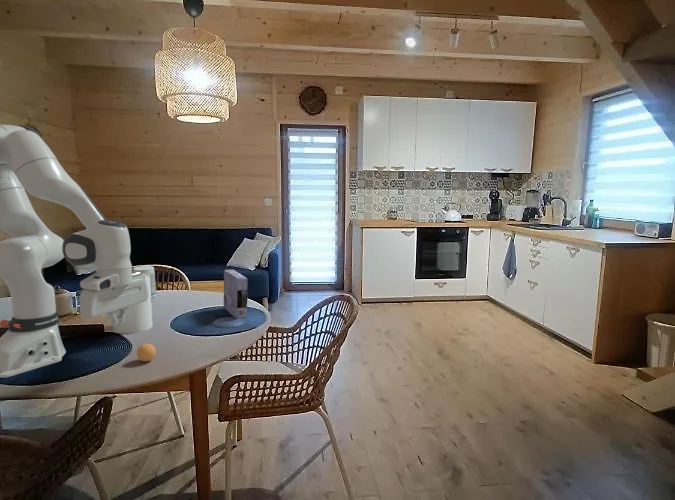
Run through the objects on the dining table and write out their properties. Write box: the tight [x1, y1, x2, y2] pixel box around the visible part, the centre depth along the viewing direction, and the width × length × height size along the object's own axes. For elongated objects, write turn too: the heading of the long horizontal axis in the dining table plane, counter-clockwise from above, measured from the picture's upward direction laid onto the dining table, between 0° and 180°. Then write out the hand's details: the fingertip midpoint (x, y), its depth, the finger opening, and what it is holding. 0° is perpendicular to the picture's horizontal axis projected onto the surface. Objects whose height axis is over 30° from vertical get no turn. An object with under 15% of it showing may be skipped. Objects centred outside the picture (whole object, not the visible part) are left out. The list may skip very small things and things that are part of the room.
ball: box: [136, 343, 157, 363], centre depth 134 cm, size 6×6×6 cm
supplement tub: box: [132, 265, 157, 299], centre depth 206 cm, size 10×10×15 cm
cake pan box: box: [223, 269, 249, 319], centre depth 184 cm, size 19×5×18 cm, turn 32°
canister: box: [113, 274, 153, 335], centre depth 163 cm, size 14×14×20 cm
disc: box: [212, 316, 246, 329], centre depth 172 cm, size 13×13×1 cm
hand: (118, 323), depth 124 cm, fingers closed
